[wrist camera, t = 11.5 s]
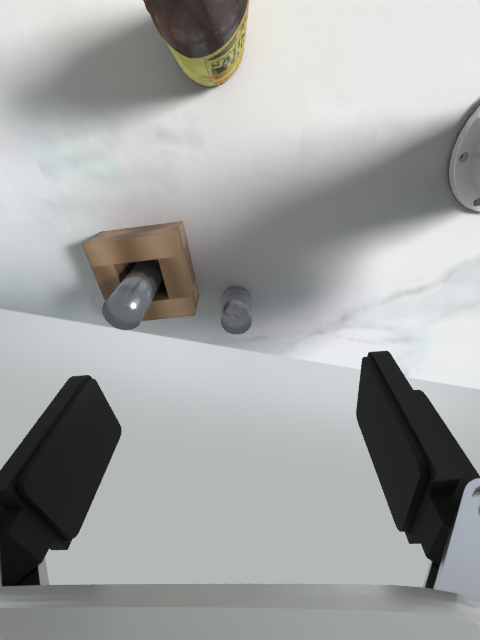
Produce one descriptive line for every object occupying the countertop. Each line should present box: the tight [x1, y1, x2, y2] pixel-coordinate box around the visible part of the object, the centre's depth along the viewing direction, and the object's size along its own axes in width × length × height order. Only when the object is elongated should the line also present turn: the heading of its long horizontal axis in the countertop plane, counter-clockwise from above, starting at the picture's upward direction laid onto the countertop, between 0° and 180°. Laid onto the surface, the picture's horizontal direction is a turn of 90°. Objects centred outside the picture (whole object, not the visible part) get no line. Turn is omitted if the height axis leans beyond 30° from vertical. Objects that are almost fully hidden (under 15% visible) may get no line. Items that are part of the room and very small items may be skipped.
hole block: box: [82, 221, 199, 321], centre depth 35 cm, size 10×10×5 cm
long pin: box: [102, 259, 163, 330], centre depth 32 cm, size 4×4×12 cm
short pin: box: [221, 287, 251, 334], centre depth 38 cm, size 4×4×6 cm
